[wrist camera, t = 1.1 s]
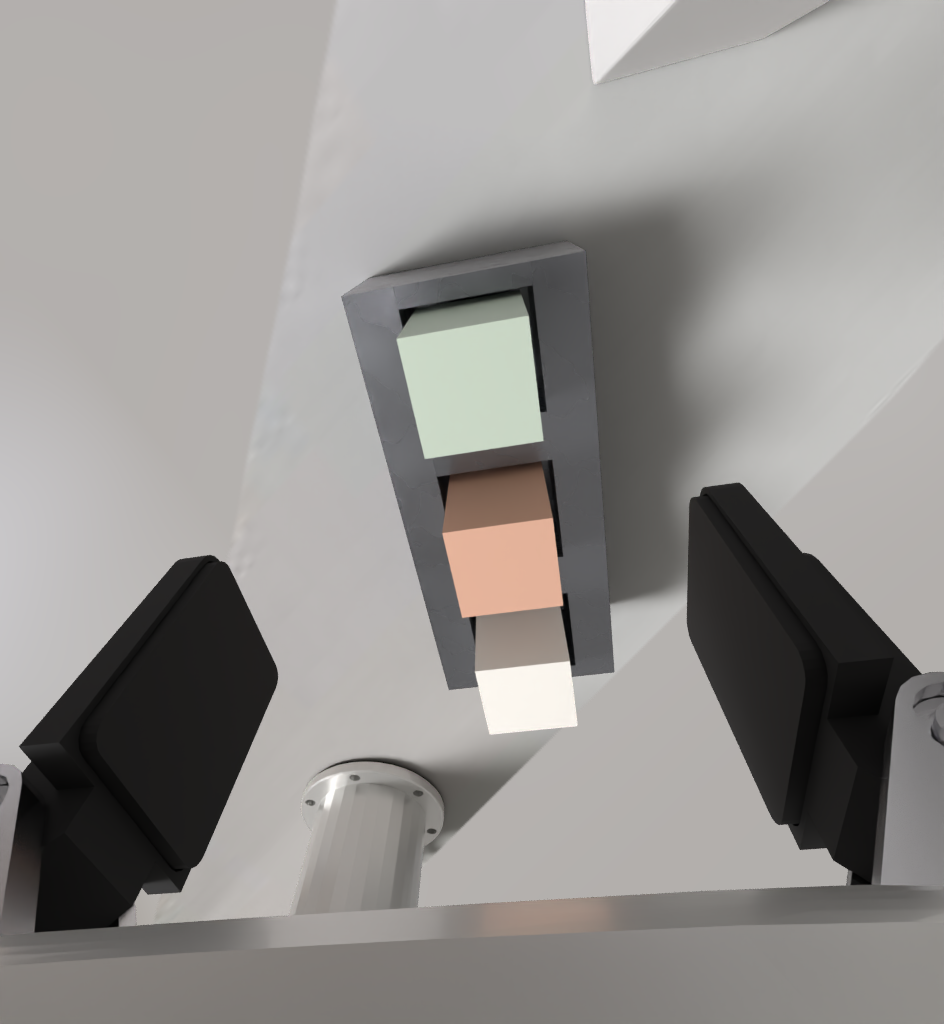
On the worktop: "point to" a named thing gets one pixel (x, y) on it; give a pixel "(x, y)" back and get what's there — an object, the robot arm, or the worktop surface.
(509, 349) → the pale green block
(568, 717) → the ivory key
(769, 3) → the milk carton
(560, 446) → the grey socket block
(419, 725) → the worktop surface
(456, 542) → the peach key
